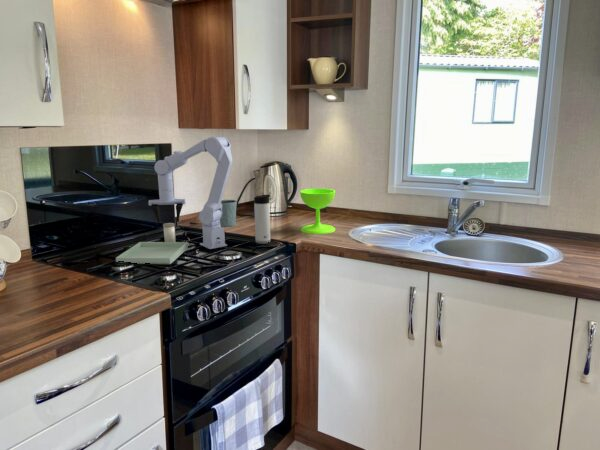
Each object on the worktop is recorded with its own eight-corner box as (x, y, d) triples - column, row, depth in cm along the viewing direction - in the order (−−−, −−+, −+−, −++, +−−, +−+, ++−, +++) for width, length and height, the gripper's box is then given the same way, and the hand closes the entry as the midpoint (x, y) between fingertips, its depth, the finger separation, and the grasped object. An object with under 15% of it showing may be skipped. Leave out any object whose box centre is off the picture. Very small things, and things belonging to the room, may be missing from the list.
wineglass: (341, 232, 215) (341, 192, 211) (308, 235, 210) (308, 195, 206) (326, 224, 230) (326, 187, 226) (295, 228, 224) (294, 189, 220)
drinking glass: (212, 226, 229) (210, 202, 226) (224, 222, 237) (223, 198, 235) (229, 228, 224) (228, 203, 221) (241, 224, 233) (240, 200, 230)
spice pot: (177, 242, 200) (176, 224, 198) (167, 244, 198) (165, 225, 196) (173, 240, 204) (171, 222, 202) (162, 242, 201) (161, 224, 199)
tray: (140, 247, 194) (139, 242, 194) (188, 247, 193) (188, 242, 192) (116, 263, 173) (115, 257, 172) (170, 264, 171) (169, 258, 171)
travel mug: (269, 244, 196) (267, 196, 192) (253, 243, 198) (251, 195, 193) (272, 240, 202) (271, 193, 198) (257, 239, 204) (256, 193, 199)
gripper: (185, 187, 200) (187, 219, 203) (149, 188, 199) (152, 220, 202) (183, 189, 194) (185, 222, 197) (146, 191, 192) (149, 224, 195)
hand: (168, 221), depth 199 cm, fingers open, 7 cm apart
